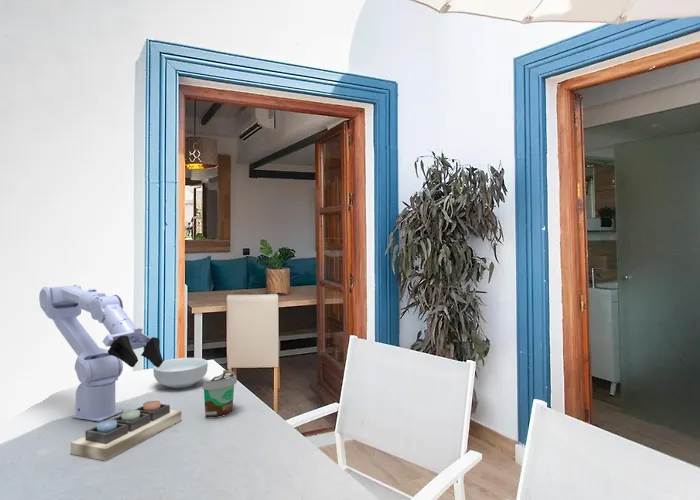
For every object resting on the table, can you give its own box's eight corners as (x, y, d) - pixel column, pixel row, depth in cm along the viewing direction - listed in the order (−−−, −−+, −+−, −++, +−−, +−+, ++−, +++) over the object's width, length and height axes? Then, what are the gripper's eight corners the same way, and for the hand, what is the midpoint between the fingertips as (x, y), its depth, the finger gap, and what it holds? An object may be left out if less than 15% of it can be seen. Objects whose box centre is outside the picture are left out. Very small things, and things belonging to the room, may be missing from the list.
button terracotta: (139, 412, 117) (139, 404, 117) (151, 406, 121) (151, 399, 121) (152, 413, 116) (152, 406, 116) (163, 408, 120) (163, 401, 120)
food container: (224, 421, 121) (224, 383, 121) (202, 419, 123) (202, 381, 123) (244, 405, 134) (244, 370, 133) (224, 404, 135) (224, 369, 135)
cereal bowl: (170, 376, 163) (170, 356, 163) (215, 378, 160) (215, 358, 160) (142, 391, 146) (142, 369, 146) (192, 394, 144) (192, 371, 144)
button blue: (92, 433, 104) (92, 425, 104) (107, 426, 108) (107, 418, 108) (106, 435, 103) (106, 427, 103) (120, 428, 107) (120, 421, 107)
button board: (70, 453, 102) (70, 433, 102) (150, 416, 125) (150, 399, 125) (106, 460, 99) (106, 439, 99) (181, 420, 122) (181, 403, 122)
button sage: (117, 422, 111) (117, 414, 111) (130, 416, 115) (130, 408, 115) (131, 424, 110) (131, 416, 110) (143, 418, 113) (143, 410, 113)
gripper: (105, 313, 112) (132, 349, 106) (153, 319, 125) (179, 352, 119) (89, 336, 113) (114, 374, 107) (138, 339, 126) (163, 373, 119)
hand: (147, 364), depth 113 cm, fingers open, 7 cm apart
